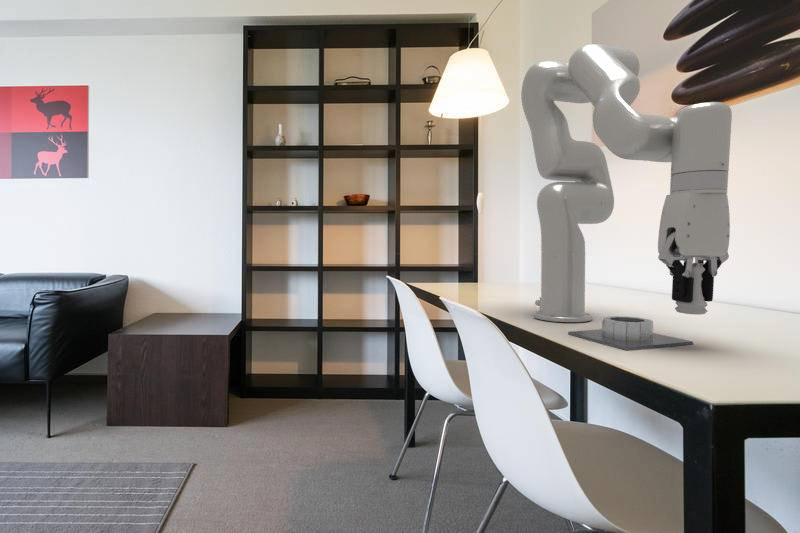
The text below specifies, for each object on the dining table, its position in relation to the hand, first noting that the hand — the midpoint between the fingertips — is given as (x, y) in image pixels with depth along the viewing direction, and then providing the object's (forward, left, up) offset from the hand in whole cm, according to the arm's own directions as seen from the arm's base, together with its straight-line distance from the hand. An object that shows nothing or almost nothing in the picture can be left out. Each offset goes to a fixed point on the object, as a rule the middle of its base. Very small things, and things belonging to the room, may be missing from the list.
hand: (691, 299), depth 70 cm
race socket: (-9, -4, -8) cm, 13 cm away
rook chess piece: (0, 0, -2) cm, 2 cm away
